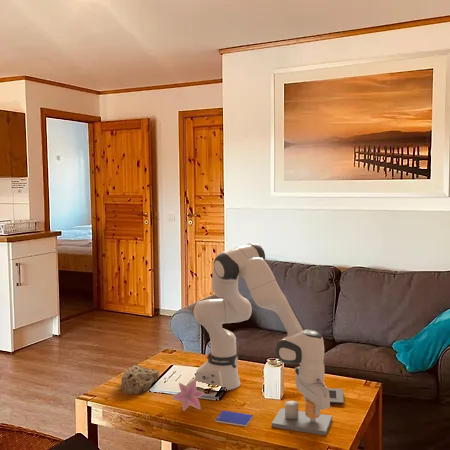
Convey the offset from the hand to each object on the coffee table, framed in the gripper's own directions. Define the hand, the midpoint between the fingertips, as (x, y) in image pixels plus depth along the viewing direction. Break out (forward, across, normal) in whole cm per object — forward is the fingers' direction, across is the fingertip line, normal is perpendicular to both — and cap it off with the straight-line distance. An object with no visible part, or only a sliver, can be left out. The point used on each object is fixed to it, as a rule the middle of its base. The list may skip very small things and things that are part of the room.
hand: (312, 410), depth 194 cm
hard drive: (+6, +15, +26) cm, 30 cm away
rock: (+6, +60, +54) cm, 81 cm away
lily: (+6, +32, +39) cm, 51 cm away
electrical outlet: (+6, +18, -18) cm, 26 cm away
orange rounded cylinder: (+2, 0, 0) cm, 2 cm away
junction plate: (+5, +3, +3) cm, 7 cm away
